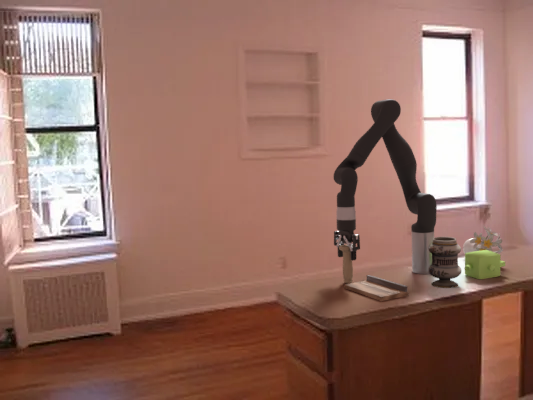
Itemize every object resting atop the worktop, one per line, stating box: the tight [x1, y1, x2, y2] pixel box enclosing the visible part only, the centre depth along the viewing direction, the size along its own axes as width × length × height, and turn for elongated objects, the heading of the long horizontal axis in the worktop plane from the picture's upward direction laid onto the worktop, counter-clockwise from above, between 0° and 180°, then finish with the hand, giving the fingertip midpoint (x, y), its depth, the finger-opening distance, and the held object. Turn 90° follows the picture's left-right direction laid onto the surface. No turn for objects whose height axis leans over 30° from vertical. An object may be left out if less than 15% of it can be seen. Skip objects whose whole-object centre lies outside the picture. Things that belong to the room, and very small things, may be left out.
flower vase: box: [462, 225, 504, 254], centre depth 249 cm, size 13×18×25 cm
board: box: [344, 274, 409, 302], centre depth 208 cm, size 12×22×4 cm, turn 28°
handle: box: [339, 244, 354, 284], centre depth 223 cm, size 5×6×15 cm
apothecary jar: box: [428, 236, 462, 289], centre depth 213 cm, size 12×12×18 cm
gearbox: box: [464, 250, 506, 280], centre depth 224 cm, size 18×10×10 cm, turn 108°
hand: (346, 258), depth 222 cm, fingers open, 8 cm apart
